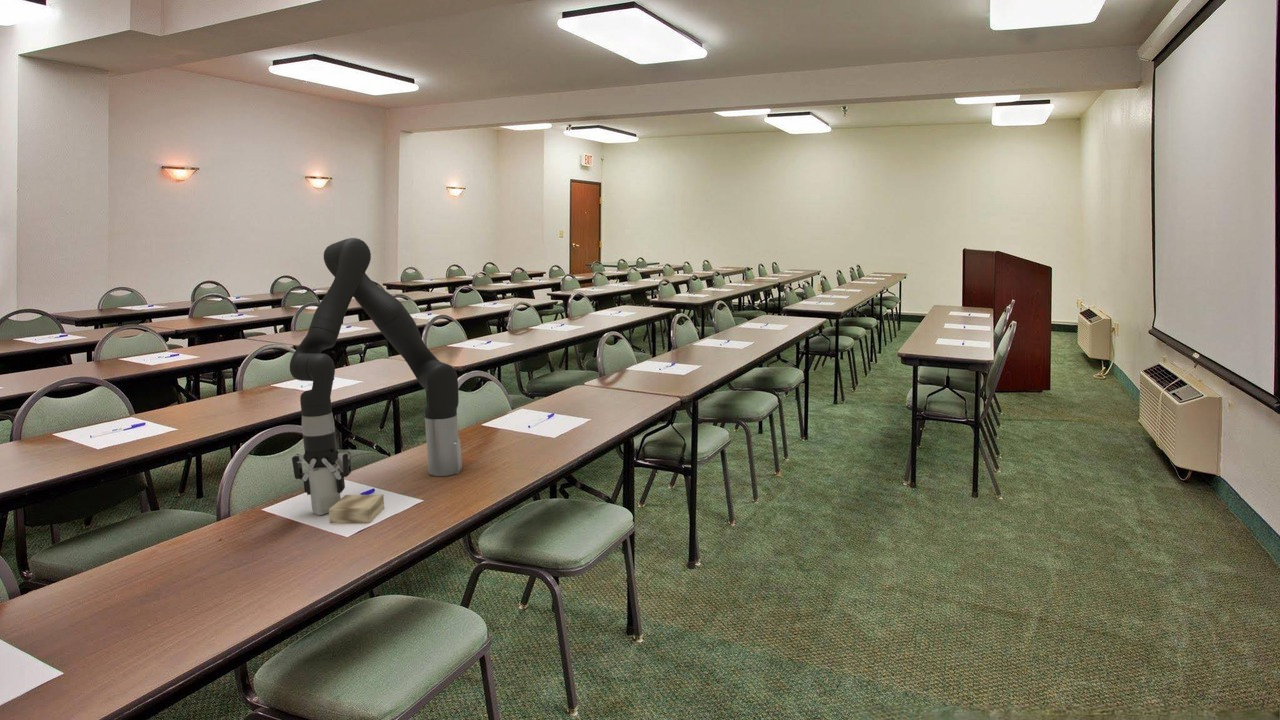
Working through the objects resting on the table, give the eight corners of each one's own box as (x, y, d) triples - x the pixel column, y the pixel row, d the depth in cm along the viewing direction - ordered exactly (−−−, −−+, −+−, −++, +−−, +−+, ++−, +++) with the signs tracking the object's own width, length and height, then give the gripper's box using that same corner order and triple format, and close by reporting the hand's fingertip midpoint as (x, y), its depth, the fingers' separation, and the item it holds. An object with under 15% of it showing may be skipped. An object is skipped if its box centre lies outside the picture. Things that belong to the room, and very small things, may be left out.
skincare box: (334, 505, 193) (329, 461, 191) (342, 509, 190) (338, 464, 188) (311, 512, 188) (306, 467, 186) (319, 516, 185) (314, 470, 183)
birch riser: (384, 509, 191) (383, 494, 190) (370, 524, 181) (368, 508, 180) (346, 509, 191) (345, 494, 190) (330, 524, 181) (328, 508, 180)
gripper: (352, 425, 190) (358, 486, 192) (295, 428, 188) (301, 489, 191) (343, 433, 182) (349, 496, 185) (283, 436, 181) (290, 499, 184)
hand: (325, 492), depth 188 cm, fingers closed on skincare box, 7 cm apart
